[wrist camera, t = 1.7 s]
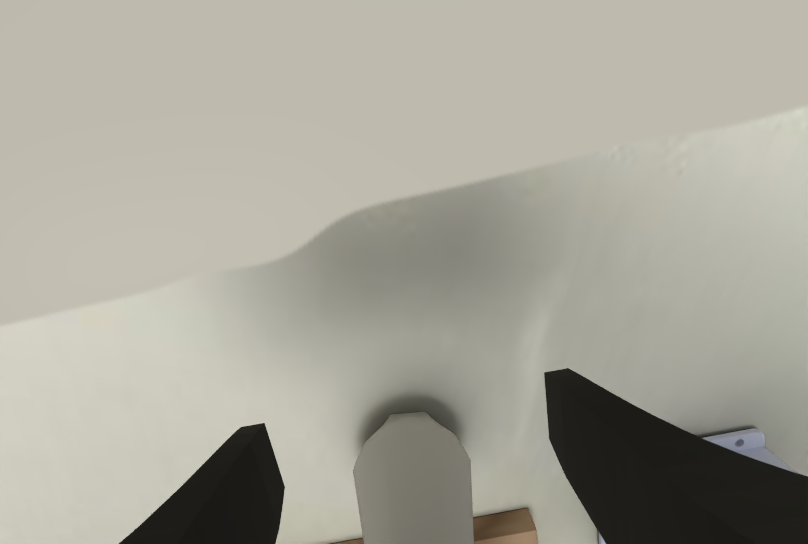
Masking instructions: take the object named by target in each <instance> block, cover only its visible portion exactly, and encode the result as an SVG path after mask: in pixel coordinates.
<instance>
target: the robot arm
mask: <svg viewBox="0 0 808 544" xmlns="http://www.w3.org/2000/svg"><path fill="white" fill-rule="evenodd" d="M544 375H545V388H546V401H547V414H548V427H549V439H550V442H551V444H552V446H553V449H554V451H555V453H556V456H557V458H558V460H559V462H560V464H561V467H562V469H563V471H564V473H565V475H566V477H567V479H568V481H569V482H570V484H571V486H572V488H573V489H574V491H575V493H576V494H577V496H578V498H579V499H580V501H581V503H582V505H583V506H584V508H585V510H586V511H587V513H588V515H589V516H590V518H591V520H592V521H593V523H594V525H595V526H596V528H597V530H598V534H599V544H808V477H807V476H804V475H801V474H797V473H796V472H795V471H794V470H793V469H791V468H790V467H789V466H788V465H786V464H785V463H784V462H783V461H781V460H780V459H779V458H778V457H776V456H775V455H774V454H773V453H771V452H770V451H769V450H768V449H767V448H765V447H764V446H765V435H764V433H763V432H761V431H760V430H759V429H756V428H754V429H747V430H742V431H736V432H731V433H726V434H720V435H715V436H709V437H704V438H700V437H698V436H696V435H693V434H691V433H689V432H687V431H684V430H682V429H680V428H678V427H676V426H674V425H672V424H670V423H668V422H666V421H664V420H662V419H659V418H657V417H655V416H653V415H651V414H650V413H648V412H646V411H644V410H642V409H640V408H638V407H636V406H634V405H632V404H631V403H629V402H627V401H625V400H623V399H621V398H620V397H618V396H616V395H614V394H613V393H611V392H609V391H607V390H606V389H604V388H602V387H600V386H599V385H597V384H595V383H593V382H592V381H590V380H588V379H586V378H585V377H583V376H581V375H579V374H578V373H576V372H574V371H572V370H570V369H568V368H567V369H562V370H556V371H551V372H545V373H544ZM284 489H285V486H284V483H283V480H282V477H281V474H280V471H279V468H278V464H277V461H276V458H275V455H274V452H273V449H272V446H271V442H270V439H269V436H268V433H267V430H266V427H265V423H262V424H257V425H251V426H245V427H241V428H239V429H238V430H237V431H236V432H235V433H234V434H233V435H232V436H231V437H230V438H229V439H228V440H227V441H226V442H225V443H224V444H223V445H222V446H221V447H220V448H219V449H218V450H217V451H216V452H215V453H214V454H213V455H212V456H211V457H210V458H209V459H208V460H207V461H206V462H205V463H204V464H203V465H202V466H201V467H200V468H199V469H198V470H197V471H196V472H195V473H194V474H193V475H192V476H191V477H190V478H189V479H188V480H187V481H186V482H185V483H184V484H183V485H182V486H181V487H180V488H179V489H178V490H177V491H176V492H175V493H174V494H173V495H172V496H171V497H170V498H169V499H168V500H167V501H166V502H165V503H163V504H162V505H161V506H160V507H159V508H158V509H157V510H156V511H155V512H154V513H153V514H152V515H151V516H150V517H149V518H147V519H146V520H145V521H144V522H143V523H142V524H141V525H140V526H139V527H138V528H137V529H135V530H134V531H133V532H132V533H131V534H130V535H129V536H127V537H126V538H125V539H124V540H123V541H122V542H120V543H119V544H275V542H276V539H277V535H278V531H279V526H280V519H281V512H282V505H283V497H284Z"/></svg>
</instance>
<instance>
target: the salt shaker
mask: <svg viewBox="0 0 808 544" xmlns="http://www.w3.org/2000/svg"><path fill="white" fill-rule="evenodd" d="M353 474H354V481H355V488H356V494H357V500H358V507H359V514H360V520H361V527H362V534H363V540H364V544H474V535H473V510H472V485H471V461H470V458H469V456H468V454H467V452H466V451H465V449H464V448H463V446H462V445H461V443H460V441H459V440H458V438H457V437H456V435H455V434H454V433H452V432H451V431H449V430H448V429H446V428H445V427H443V426H441V425H440V424H438V423H437V422H436V421H435V420H433V419H432V418H431V417H430V416H429V415H428V414H427V413H426V412H425V411H424V412H412V413H401V414H391V415H390V416H389V417H388V419H387V420H386V421H385V423H384V424H383V425H382V426H381V427H380V428H379V429H378V430H377V431H376V432H375V433H374V434H373V435H372V436H371V437H370V438H369V439H368V440H367V441H366V442H365V443H364V445H363V447H362V450H361V452H360V454H359V456H358V458H357V461H356V463H355V466H354V469H353Z"/></svg>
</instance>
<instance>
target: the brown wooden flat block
mask: <svg viewBox="0 0 808 544" xmlns="http://www.w3.org/2000/svg"><path fill="white" fill-rule="evenodd" d="M473 535H474V544H538V539H537V530H536V527H535V525H534V522H533V520H532V517H531V515H530V512H529V510H528V508H526V509H520V510H515V511H509V512H504V513H498V514H493V515H487V516H482V517H476V518H473ZM335 544H364V540H363V538H362V539H356V540H351V541H346V542H340V543H335Z"/></svg>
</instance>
